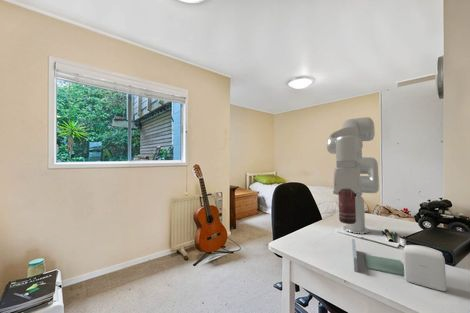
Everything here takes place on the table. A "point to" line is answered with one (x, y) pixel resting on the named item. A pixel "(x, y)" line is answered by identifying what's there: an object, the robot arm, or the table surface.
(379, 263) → the mat
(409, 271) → the photo printer
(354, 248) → the acrylic wall
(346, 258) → the table surface
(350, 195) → the can
